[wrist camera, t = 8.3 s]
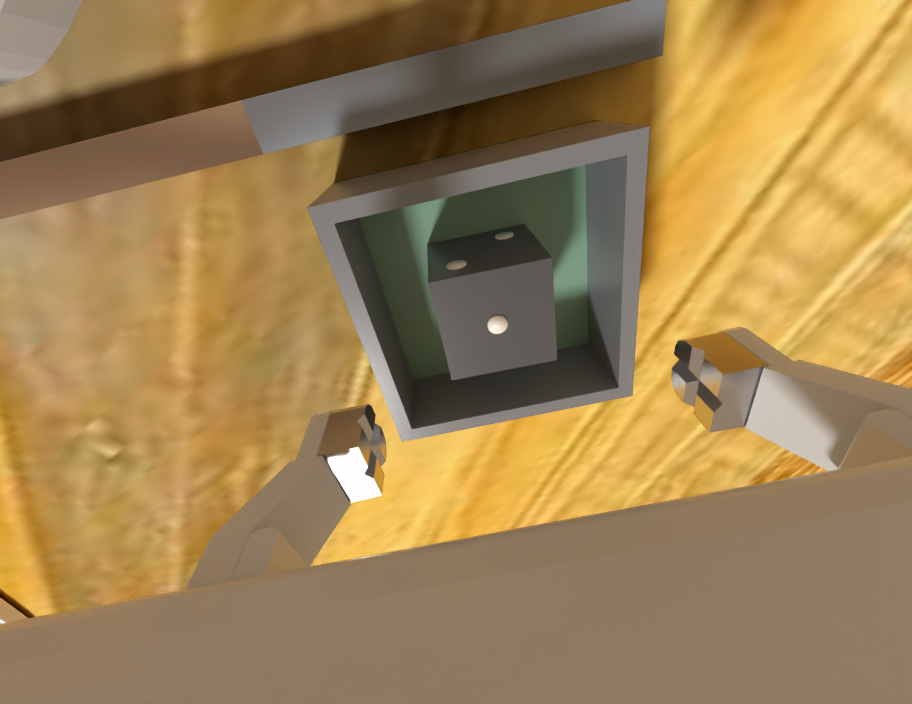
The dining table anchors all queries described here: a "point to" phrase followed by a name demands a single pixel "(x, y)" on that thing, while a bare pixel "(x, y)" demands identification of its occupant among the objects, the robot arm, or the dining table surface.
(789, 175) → the dining table surface
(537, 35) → the track
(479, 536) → the robot arm
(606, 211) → the tray
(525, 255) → the die
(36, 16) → the robot toy
